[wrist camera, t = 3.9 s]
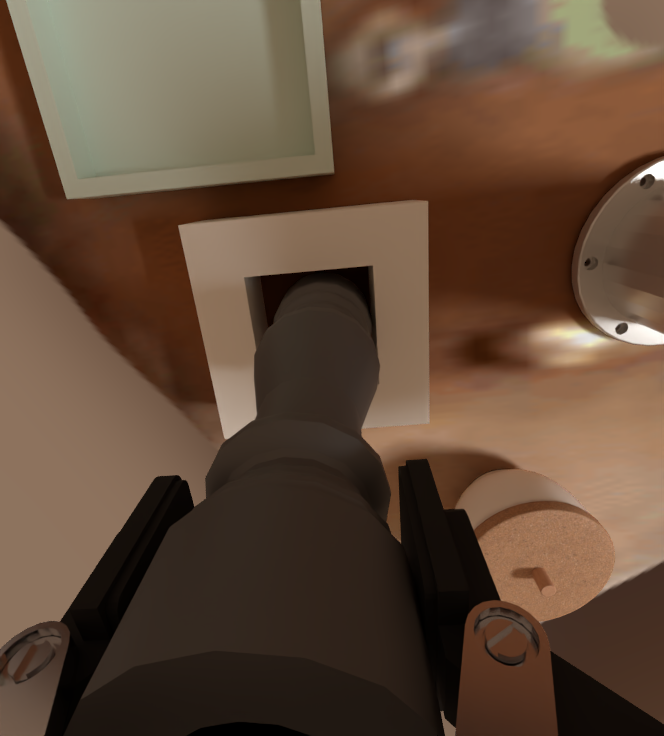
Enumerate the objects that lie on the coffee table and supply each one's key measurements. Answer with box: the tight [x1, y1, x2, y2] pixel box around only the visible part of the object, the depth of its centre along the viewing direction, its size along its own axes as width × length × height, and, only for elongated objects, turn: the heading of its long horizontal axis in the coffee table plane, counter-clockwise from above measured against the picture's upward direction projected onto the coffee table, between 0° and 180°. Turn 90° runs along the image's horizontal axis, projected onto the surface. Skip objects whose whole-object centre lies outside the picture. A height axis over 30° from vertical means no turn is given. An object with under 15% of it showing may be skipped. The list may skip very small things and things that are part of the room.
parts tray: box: [6, 0, 334, 199], centre depth 24 cm, size 16×14×3 cm
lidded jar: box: [455, 469, 615, 622], centre depth 33 cm, size 11×11×9 cm
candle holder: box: [63, 272, 445, 736], centre depth 18 cm, size 6×6×25 cm
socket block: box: [178, 200, 429, 439], centre depth 29 cm, size 14×14×5 cm
